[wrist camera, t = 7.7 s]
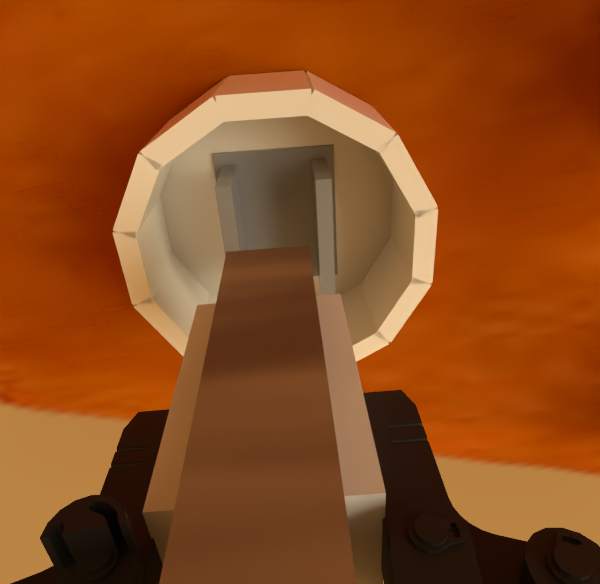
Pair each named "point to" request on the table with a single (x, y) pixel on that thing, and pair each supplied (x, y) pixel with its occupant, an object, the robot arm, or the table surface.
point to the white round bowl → (278, 204)
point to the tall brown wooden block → (262, 439)
